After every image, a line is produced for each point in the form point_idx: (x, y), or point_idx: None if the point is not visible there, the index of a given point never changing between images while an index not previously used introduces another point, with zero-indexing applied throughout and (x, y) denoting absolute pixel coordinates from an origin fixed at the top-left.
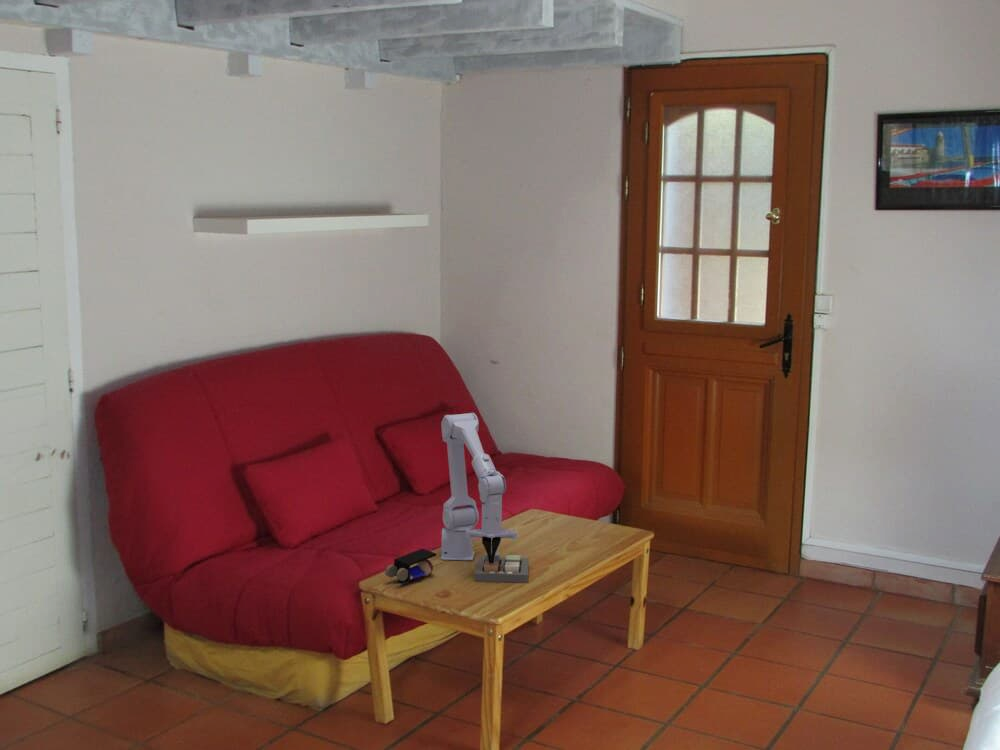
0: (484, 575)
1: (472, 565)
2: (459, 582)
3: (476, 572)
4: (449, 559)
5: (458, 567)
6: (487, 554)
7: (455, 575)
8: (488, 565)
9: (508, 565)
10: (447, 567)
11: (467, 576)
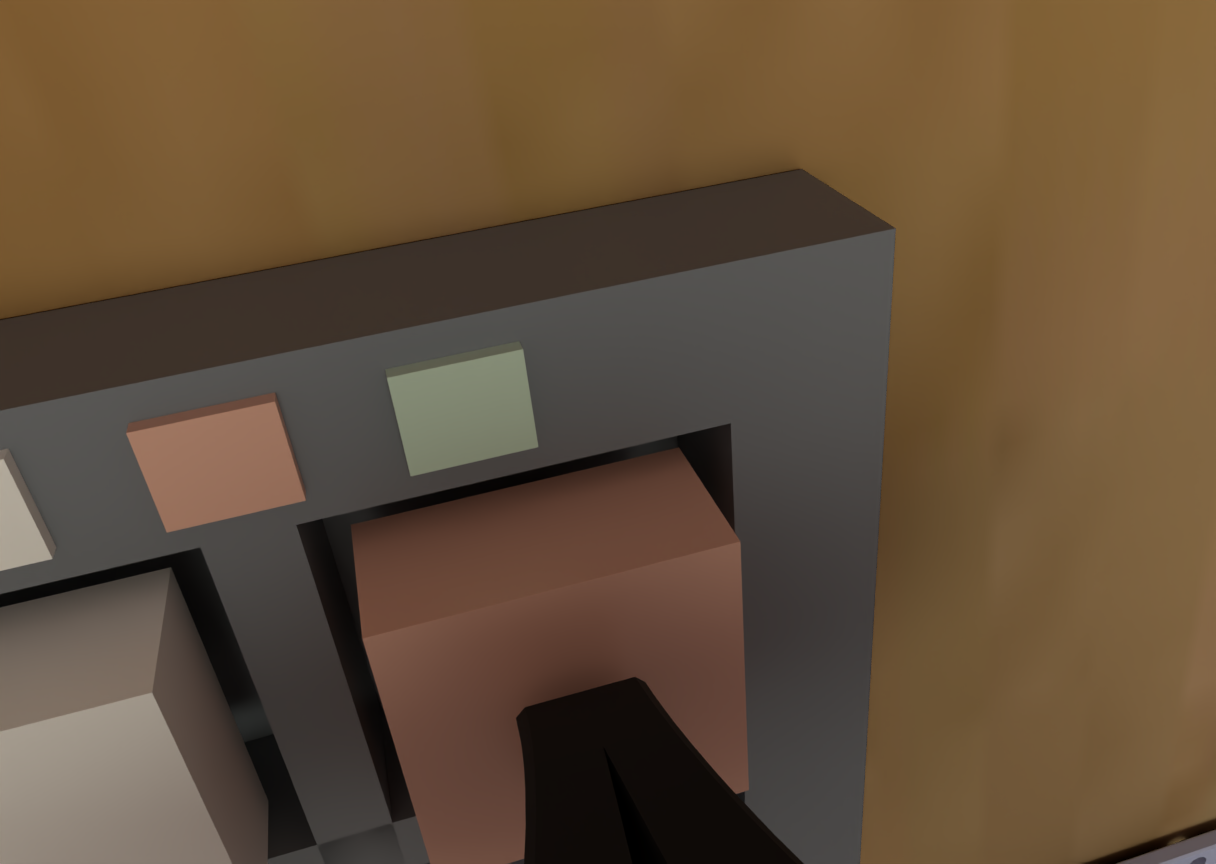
0: (634, 261)
1: (874, 826)
2: (1094, 36)
3: (851, 309)
4: (1155, 853)
5: (1058, 700)
6: (782, 848)
7: (1128, 392)
8: (628, 600)
9: (74, 782)
10: (1197, 649)
11: (938, 409)
